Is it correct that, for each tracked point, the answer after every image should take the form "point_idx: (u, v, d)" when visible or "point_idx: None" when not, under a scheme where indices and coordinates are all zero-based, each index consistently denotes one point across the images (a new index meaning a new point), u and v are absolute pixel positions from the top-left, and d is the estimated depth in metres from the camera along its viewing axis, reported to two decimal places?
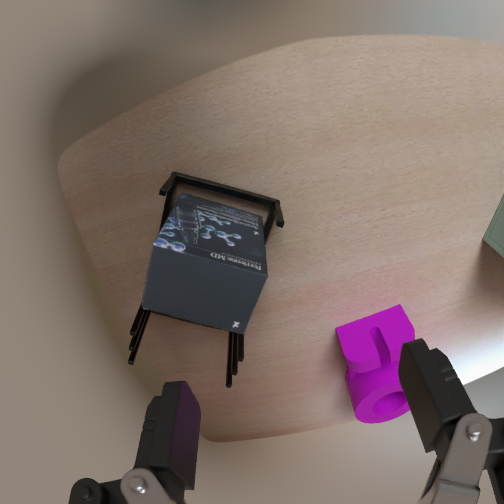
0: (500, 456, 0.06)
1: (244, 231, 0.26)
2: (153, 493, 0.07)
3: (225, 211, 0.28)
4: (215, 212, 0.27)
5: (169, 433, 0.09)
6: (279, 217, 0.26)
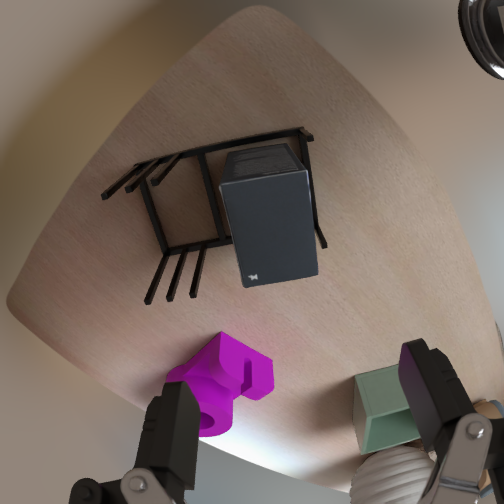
0: (500, 456, 0.06)
1: None
2: (153, 493, 0.07)
3: None
4: None
5: (169, 433, 0.09)
6: (325, 240, 0.28)
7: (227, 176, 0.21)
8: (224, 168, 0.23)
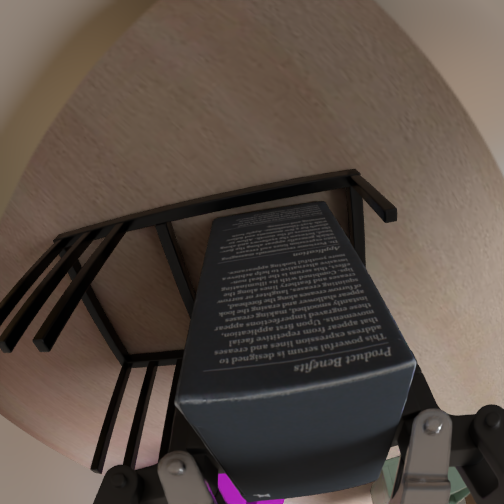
0: (463, 454, 0.06)
1: None
2: (190, 478, 0.07)
3: None
4: None
5: None
6: None
7: (198, 355, 0.08)
8: (197, 295, 0.10)
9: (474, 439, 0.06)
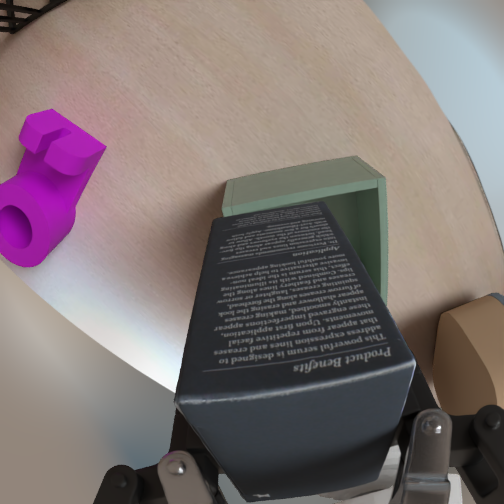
0: (463, 454, 0.06)
1: None
2: (190, 478, 0.07)
3: None
4: None
5: None
6: None
7: (198, 355, 0.08)
8: (196, 295, 0.10)
9: (474, 440, 0.06)
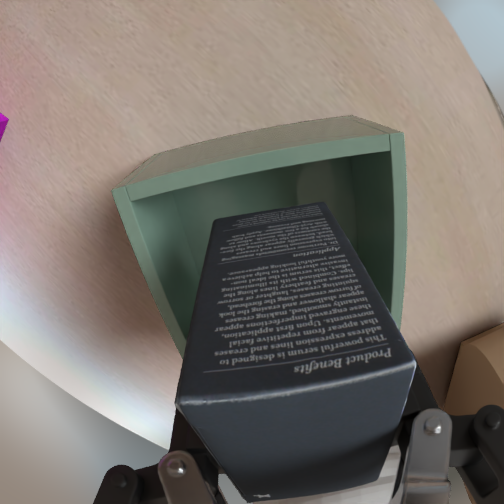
0: (463, 454, 0.06)
1: None
2: (190, 478, 0.07)
3: None
4: None
5: None
6: None
7: (198, 356, 0.08)
8: (197, 296, 0.10)
9: (474, 440, 0.06)
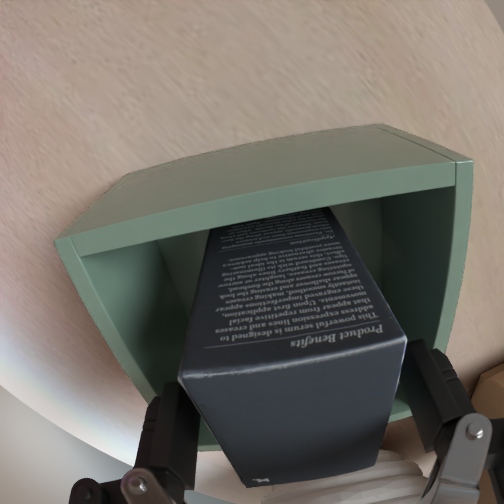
0: (500, 456, 0.06)
1: None
2: (153, 493, 0.07)
3: None
4: None
5: (169, 433, 0.09)
6: None
7: (200, 333, 0.08)
8: (198, 281, 0.11)
9: None
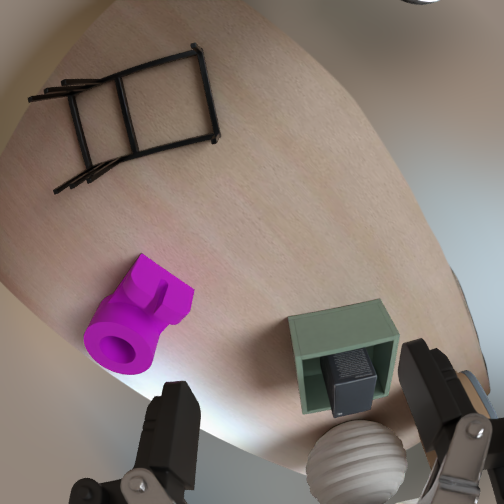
0: (500, 456, 0.06)
1: None
2: (153, 493, 0.07)
3: None
4: None
5: (169, 433, 0.09)
6: (216, 138, 0.29)
7: (336, 376, 0.37)
8: (328, 361, 0.39)
9: None
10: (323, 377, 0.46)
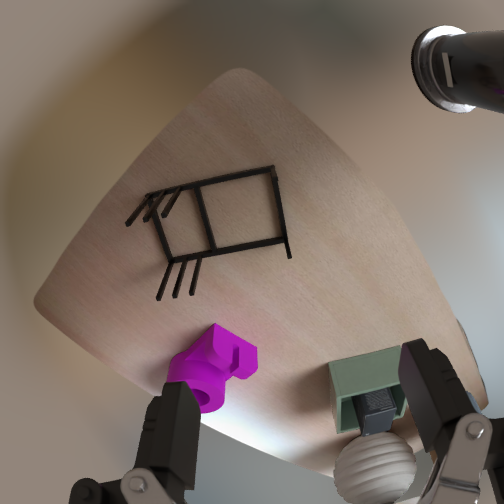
0: (500, 456, 0.06)
1: None
2: (153, 493, 0.07)
3: None
4: None
5: (169, 433, 0.09)
6: (290, 252, 0.38)
7: (366, 408, 0.46)
8: (360, 397, 0.48)
9: None
10: (353, 404, 0.55)
